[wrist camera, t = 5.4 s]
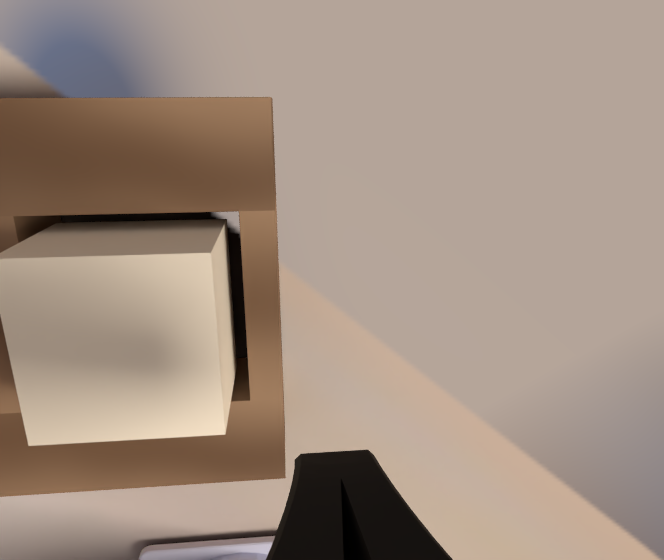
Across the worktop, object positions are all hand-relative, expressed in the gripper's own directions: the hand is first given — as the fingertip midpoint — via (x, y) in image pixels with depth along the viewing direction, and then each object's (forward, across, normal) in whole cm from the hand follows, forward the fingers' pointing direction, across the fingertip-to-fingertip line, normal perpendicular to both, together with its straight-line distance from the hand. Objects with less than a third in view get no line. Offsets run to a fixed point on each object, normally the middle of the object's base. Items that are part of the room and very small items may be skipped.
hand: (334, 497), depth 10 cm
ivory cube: (+8, +5, -1) cm, 10 cm away
